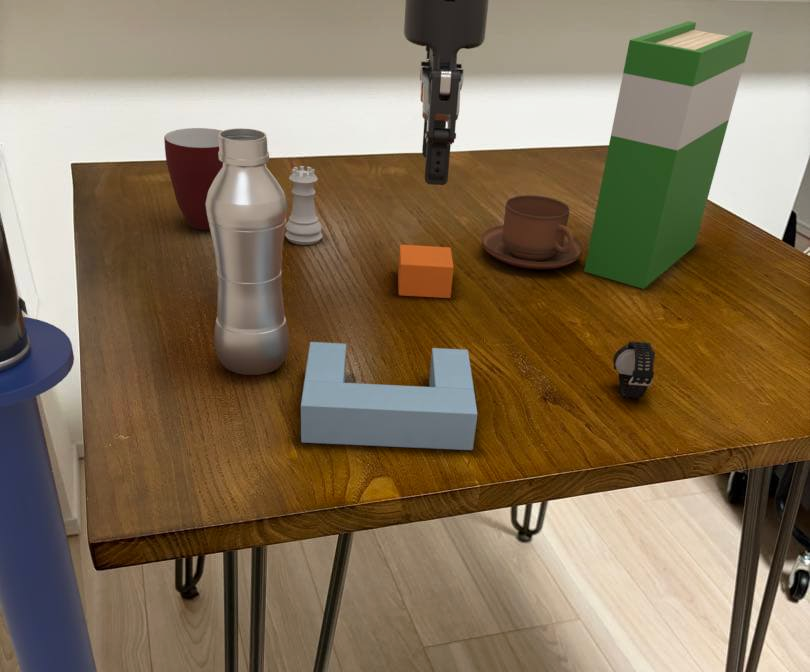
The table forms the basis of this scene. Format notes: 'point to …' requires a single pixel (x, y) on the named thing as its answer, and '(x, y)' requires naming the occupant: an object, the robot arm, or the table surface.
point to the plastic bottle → (248, 255)
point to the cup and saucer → (533, 234)
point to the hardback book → (663, 150)
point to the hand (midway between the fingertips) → (434, 170)
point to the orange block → (425, 271)
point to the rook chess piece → (303, 209)
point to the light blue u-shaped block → (388, 404)
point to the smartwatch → (634, 368)
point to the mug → (193, 170)
